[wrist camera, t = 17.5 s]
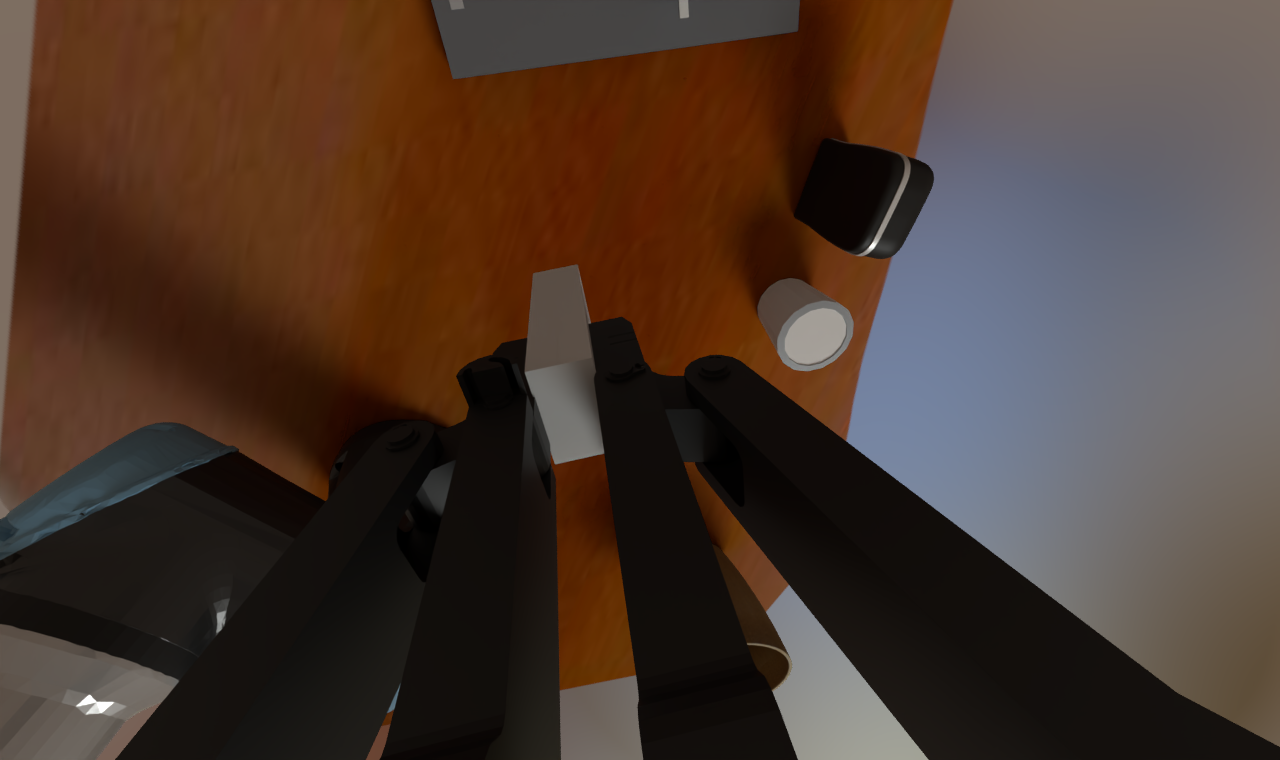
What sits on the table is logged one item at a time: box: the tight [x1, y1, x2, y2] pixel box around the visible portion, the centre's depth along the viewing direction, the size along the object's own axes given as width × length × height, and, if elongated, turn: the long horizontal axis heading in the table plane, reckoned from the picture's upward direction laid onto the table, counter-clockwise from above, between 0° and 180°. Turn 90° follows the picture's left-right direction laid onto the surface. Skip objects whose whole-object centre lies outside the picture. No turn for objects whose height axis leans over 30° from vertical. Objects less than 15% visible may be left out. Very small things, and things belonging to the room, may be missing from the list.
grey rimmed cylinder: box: [757, 278, 854, 371], centre depth 44 cm, size 7×7×7 cm
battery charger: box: [794, 138, 934, 259], centre depth 37 cm, size 7×4×11 cm, turn 166°
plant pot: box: [712, 544, 792, 691], centre depth 60 cm, size 15×15×16 cm
